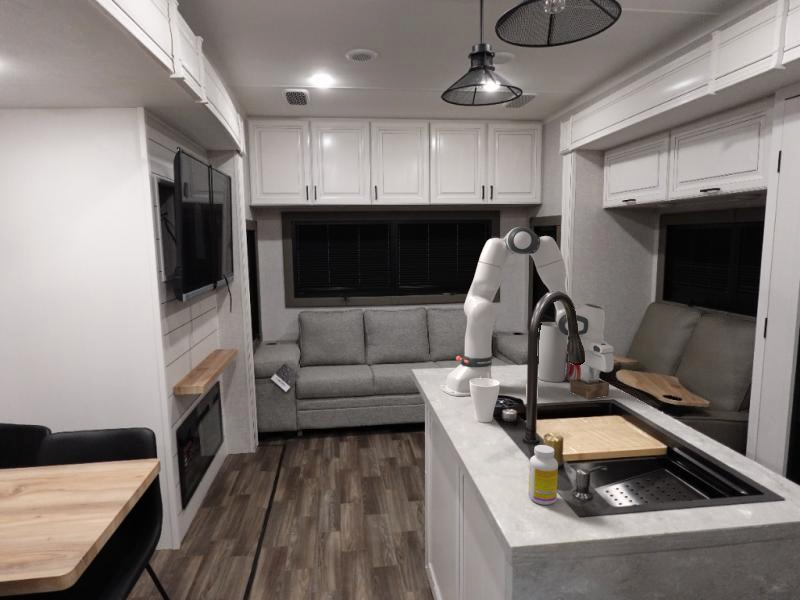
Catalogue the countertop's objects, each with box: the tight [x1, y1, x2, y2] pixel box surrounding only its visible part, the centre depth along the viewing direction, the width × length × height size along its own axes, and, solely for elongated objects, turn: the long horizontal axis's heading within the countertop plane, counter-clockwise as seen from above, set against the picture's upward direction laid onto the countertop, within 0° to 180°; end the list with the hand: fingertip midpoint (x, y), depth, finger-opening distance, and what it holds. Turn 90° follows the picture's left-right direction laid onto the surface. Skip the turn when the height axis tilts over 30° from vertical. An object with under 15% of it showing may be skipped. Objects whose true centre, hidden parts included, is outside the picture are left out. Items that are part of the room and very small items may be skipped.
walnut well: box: [569, 378, 610, 400], centre depth 205 cm, size 11×10×6 cm
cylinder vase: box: [538, 321, 568, 383], centre depth 226 cm, size 12×12×25 cm
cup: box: [470, 378, 501, 423], centre depth 175 cm, size 10×10×14 cm
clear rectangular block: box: [580, 364, 600, 385], centre depth 204 cm, size 6×4×10 cm, turn 114°
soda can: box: [565, 360, 581, 382], centre depth 224 cm, size 7×7×13 cm
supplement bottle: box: [528, 444, 559, 506], centre depth 122 cm, size 7×7×13 cm
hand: (589, 377), depth 204 cm, fingers closed on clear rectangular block, 4 cm apart
